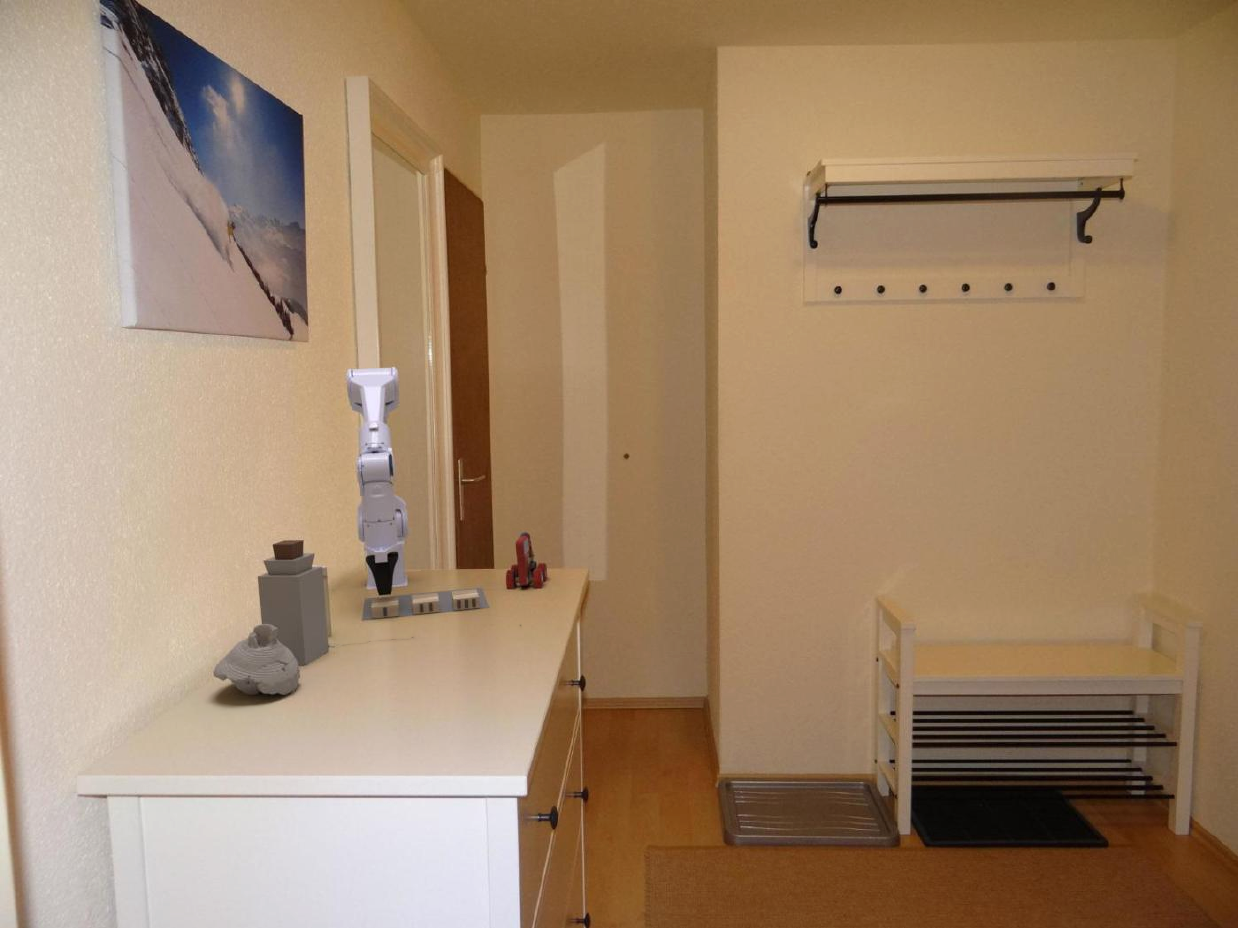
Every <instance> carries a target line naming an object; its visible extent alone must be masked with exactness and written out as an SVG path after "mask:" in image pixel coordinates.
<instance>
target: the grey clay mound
mask: <svg viewBox="0 0 1238 928" xmlns="http://www.w3.org/2000/svg"><path fill="white" fill-rule="evenodd" d="M277 634H278V629H277V628H276V627H274V626H273V625H269V624H262V623H261V624H258V625H256V626H254V627H253V632H250V633H249V635H248V637H247V638H244V639H242V640H240V641H239V642H238V643H236V645H235V646H234V647H233V648H231V650H230V651H229V652H228V653H227V654H226V655H224V656H223V658H221V660H219V662H218V663H217V664H216V666H215V667H214V670H213V672H212V673H213V676H214V677H215V678H217V679H219V680H220V681H222V682H223V681H226V680H227V679H228V680H229V681H230V682H231V683H232V684H234V685H235V686H236V689H237V690H239V691H241V692H243V693H245V694H246V695H250V696H255V695H258V694H259V693H263V694H265V695H266V694H269V695H275V694H279V695H282V696H284V695H285V696H286V695H288V694H289V693H290V694H292V693H293V692H295V691H296V689H297V687H298V686H299V679H300V678H301V670H300V668H299V665H298V662H297V659H296V658H295V656H294V655H293V653H292V652H291V651H290V650H289V649H288V648H287V647H285V646H284V645H282V644H281V643H280V642H279V641H278V640H277V639H276V637H277Z"/></svg>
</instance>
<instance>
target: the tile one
mask: <svg viewBox="0 0 1238 928" xmlns="http://www.w3.org/2000/svg"><path fill="white" fill-rule="evenodd" d="M371 610H372V619H373V618H383V617H393V616H399V604H398V597H389V598H379V599H372V606H371Z"/></svg>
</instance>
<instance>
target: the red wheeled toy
mask: <svg viewBox="0 0 1238 928" xmlns="http://www.w3.org/2000/svg"><path fill="white" fill-rule="evenodd" d="M532 545H533V544H532V541H531V535H530V533H528V532H526V531H525V532H522V533H520V535H519V537H518V538H517V540H516V541H515V553H516V563H515V564H512V565H511V567H510V569H507V570H506V573H505V583H506V585H505V586H506V589H507V590H513V589H515V588H516V587H517V585H518V584H519V586H522V587H525V586H526V587H527V586H530V583H533V584H532V585H533V589H542V588H543V586H544V583H545V582H547V580H548V567H547V564H546V563H545V562H539V563H538V564H537V561H535V552H534V550H533V546H532Z"/></svg>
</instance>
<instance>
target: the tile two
mask: <svg viewBox="0 0 1238 928" xmlns="http://www.w3.org/2000/svg"><path fill="white" fill-rule="evenodd" d="M412 600H413V614H423V613H433V612H440V610H439V599H438V593H431V594H421V595H412Z"/></svg>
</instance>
